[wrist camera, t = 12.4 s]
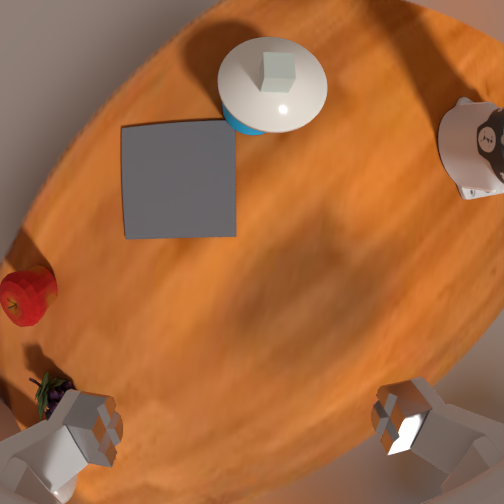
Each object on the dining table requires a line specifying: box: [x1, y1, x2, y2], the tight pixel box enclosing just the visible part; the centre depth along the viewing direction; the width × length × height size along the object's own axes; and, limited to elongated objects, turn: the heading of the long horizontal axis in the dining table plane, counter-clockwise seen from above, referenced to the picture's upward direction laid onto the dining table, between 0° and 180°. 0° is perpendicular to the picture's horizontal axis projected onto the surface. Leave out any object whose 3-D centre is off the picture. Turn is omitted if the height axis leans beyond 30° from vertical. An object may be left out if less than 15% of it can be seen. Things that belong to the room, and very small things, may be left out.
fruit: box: [29, 372, 74, 421], centre depth 44 cm, size 10×11×15 cm
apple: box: [0, 265, 57, 327], centre depth 36 cm, size 9×8×12 cm
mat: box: [122, 120, 236, 239], centre depth 39 cm, size 16×16×1 cm
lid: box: [218, 37, 327, 133], centre depth 27 cm, size 12×12×5 cm
